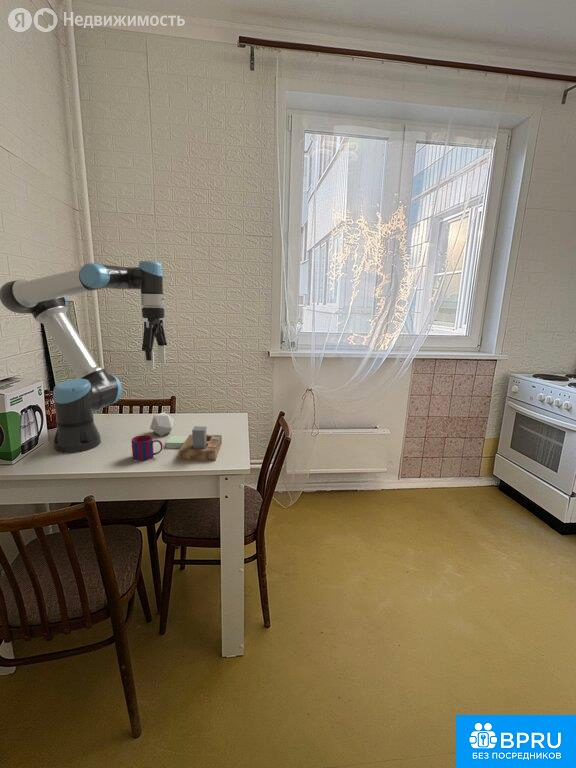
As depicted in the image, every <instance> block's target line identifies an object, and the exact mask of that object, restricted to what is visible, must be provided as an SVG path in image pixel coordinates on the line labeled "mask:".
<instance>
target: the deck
mask: <svg viewBox="0 0 576 768" xmlns="http://www.w3.org/2000/svg"><path fill="white" fill-rule="evenodd" d="M188 436H189V435H170V436H169V438H168V439H167V440H166V441H165V448H166V449H181V447H182V446H183V444H184V442H185V441H186V439H187V438H188Z"/></svg>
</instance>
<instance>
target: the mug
mask: <svg viewBox="0 0 576 768" xmlns="http://www.w3.org/2000/svg"><path fill="white" fill-rule="evenodd" d="M156 442H157V443H159V445H160V449H159V451H157V452H154V443H156ZM163 446H164V445H163V443H162V441H161V440H159V439H153V436H151V435H149V434H148V435H147V434H144V435H143V434H142V435H136V436H134V437H132V438H131V453H132V459H133V461H136V462H145V461H149V460H152V459H153V458H154V456H155V455H158V454H159V453H161V452H162V451H163Z"/></svg>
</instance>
